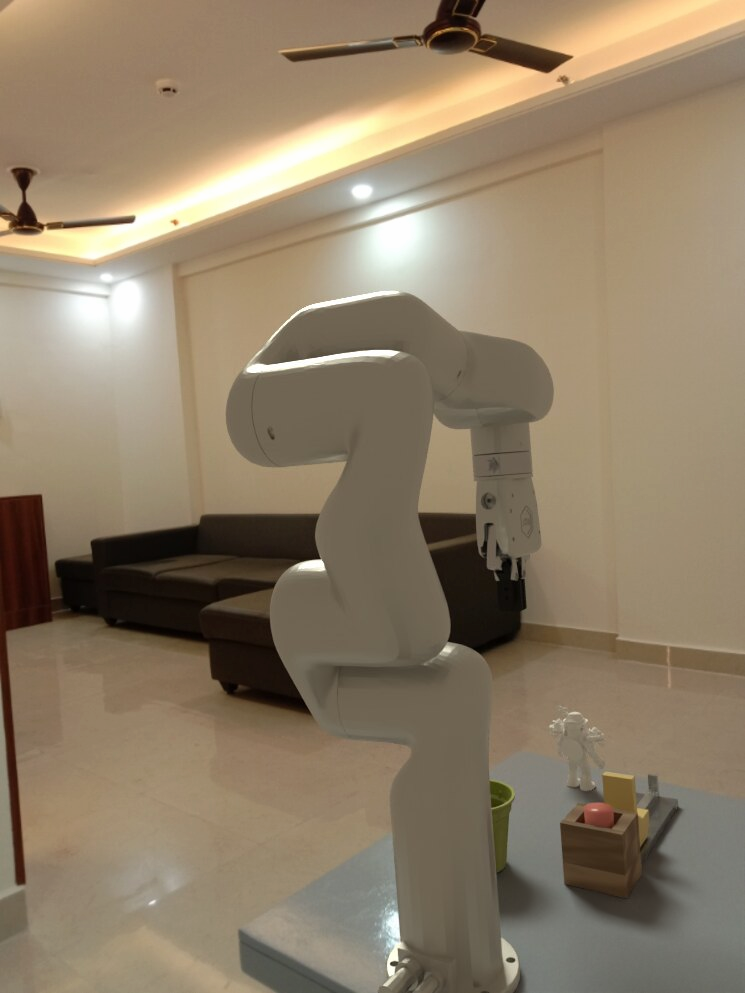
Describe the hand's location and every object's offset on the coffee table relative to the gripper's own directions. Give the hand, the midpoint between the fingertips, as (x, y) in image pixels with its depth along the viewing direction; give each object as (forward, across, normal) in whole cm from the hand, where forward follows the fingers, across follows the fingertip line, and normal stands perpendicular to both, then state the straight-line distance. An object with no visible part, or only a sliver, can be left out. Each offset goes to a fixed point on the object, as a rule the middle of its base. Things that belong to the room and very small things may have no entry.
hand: (512, 610), depth 102 cm
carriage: (+28, +1, -12) cm, 30 cm away
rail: (+29, +6, -12) cm, 32 cm away
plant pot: (+29, -10, +2) cm, 31 cm away
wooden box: (+29, -7, -12) cm, 32 cm away
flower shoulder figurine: (+29, +17, -1) cm, 34 cm away
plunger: (+26, -7, -12) cm, 29 cm away
